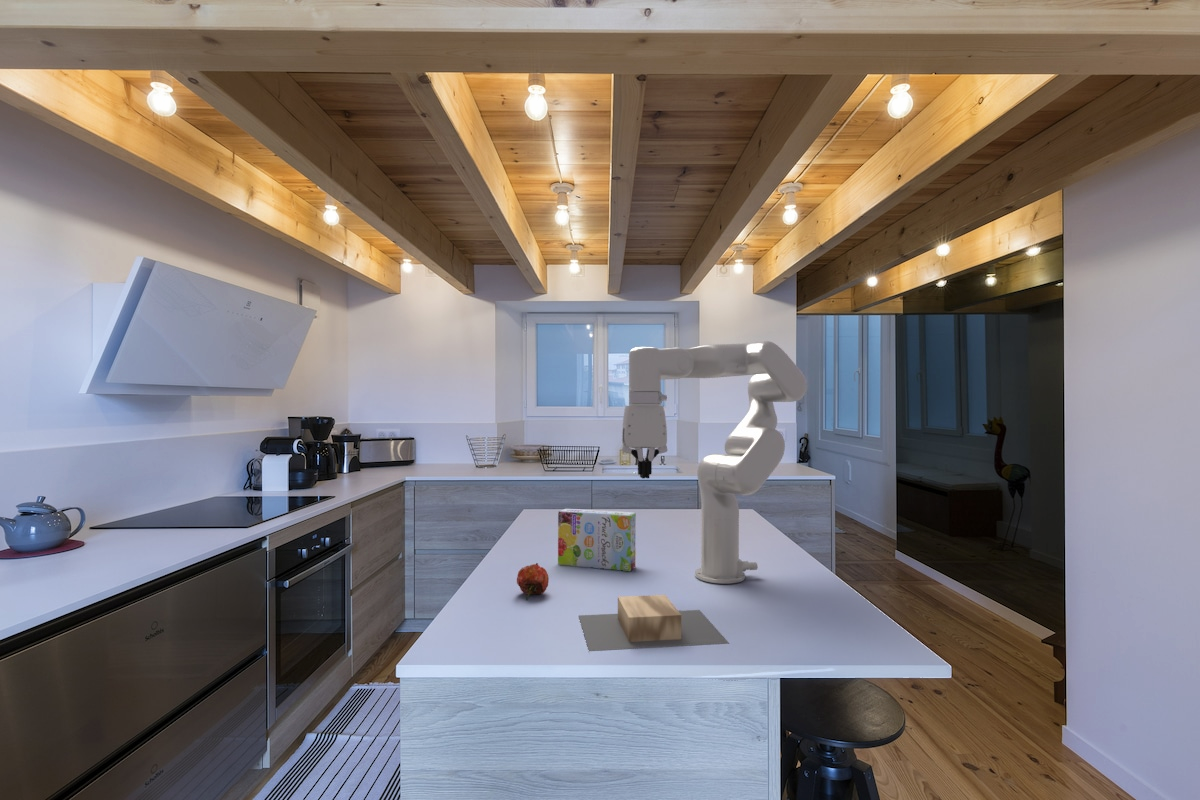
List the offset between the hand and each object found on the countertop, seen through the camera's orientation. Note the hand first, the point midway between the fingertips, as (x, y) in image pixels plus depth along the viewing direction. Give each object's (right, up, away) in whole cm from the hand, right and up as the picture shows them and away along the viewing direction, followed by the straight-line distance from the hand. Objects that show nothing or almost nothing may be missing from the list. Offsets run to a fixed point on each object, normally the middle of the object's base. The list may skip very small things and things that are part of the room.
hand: (644, 477), depth 140 cm
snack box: (-11, -28, +23) cm, 38 cm away
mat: (-1, -27, -24) cm, 36 cm away
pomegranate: (-26, -27, -2) cm, 38 cm away
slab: (+4, -24, -23) cm, 34 cm away
